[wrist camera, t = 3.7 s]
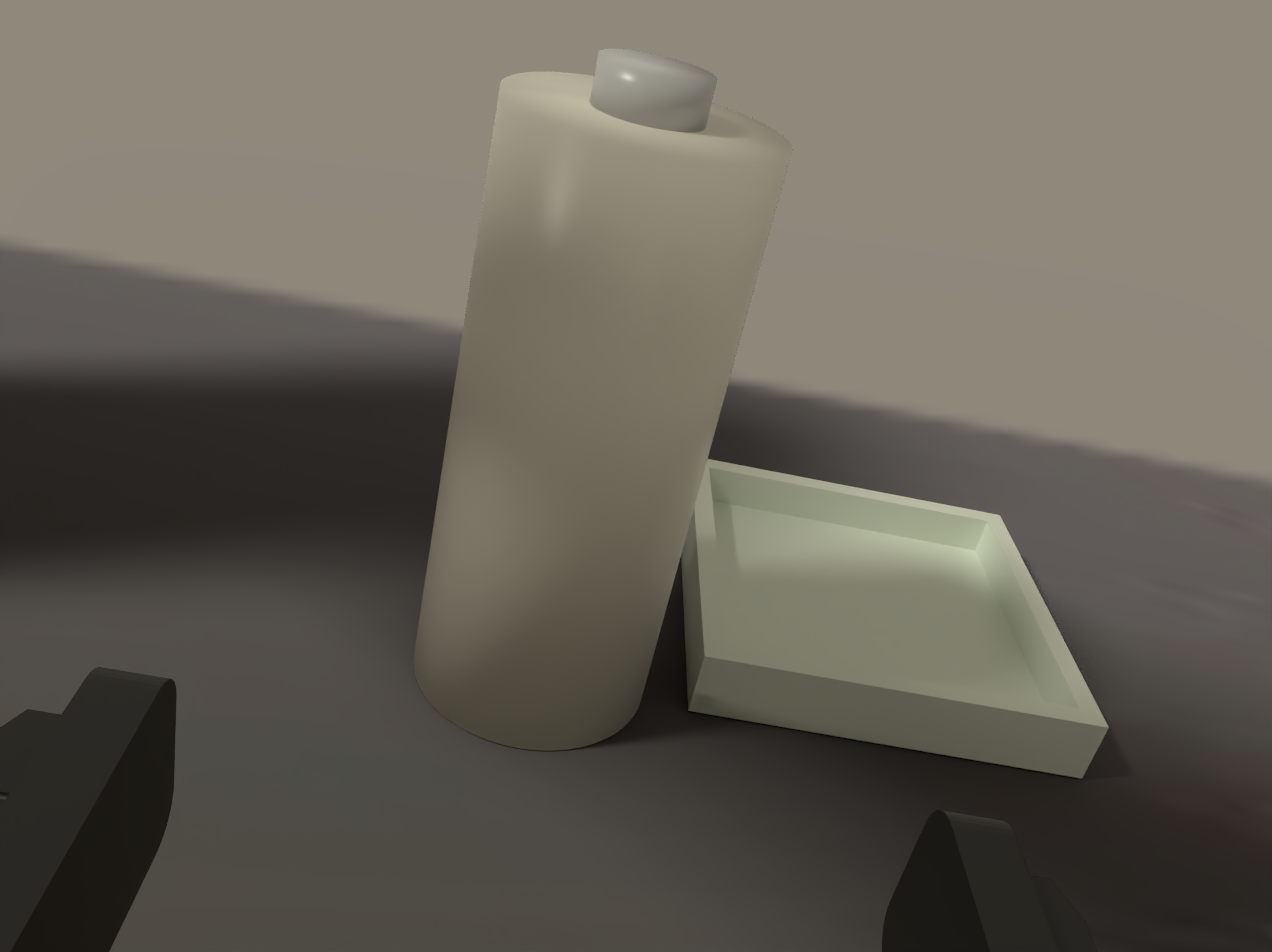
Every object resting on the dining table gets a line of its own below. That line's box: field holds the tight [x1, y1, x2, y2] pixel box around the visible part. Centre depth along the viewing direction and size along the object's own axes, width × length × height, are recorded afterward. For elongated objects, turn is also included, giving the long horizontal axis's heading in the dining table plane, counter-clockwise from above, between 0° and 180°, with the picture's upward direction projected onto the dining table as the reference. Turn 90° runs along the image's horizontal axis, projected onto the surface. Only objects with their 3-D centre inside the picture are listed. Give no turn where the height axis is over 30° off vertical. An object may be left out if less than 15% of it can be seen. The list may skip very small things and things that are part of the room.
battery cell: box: [413, 49, 792, 751], centre depth 22 cm, size 5×5×13 cm
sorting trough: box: [681, 459, 1109, 779], centre depth 29 cm, size 9×9×2 cm
